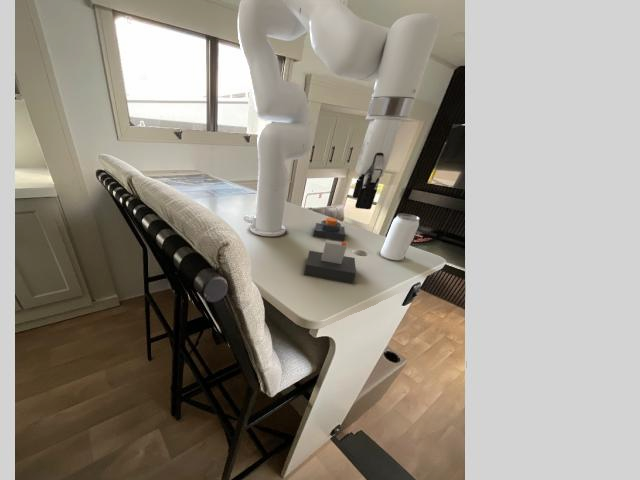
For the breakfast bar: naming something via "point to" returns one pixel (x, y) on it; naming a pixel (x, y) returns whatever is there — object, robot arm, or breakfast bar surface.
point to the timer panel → (330, 268)
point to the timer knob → (334, 251)
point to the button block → (329, 231)
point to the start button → (331, 221)
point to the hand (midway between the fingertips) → (360, 202)
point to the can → (400, 236)
